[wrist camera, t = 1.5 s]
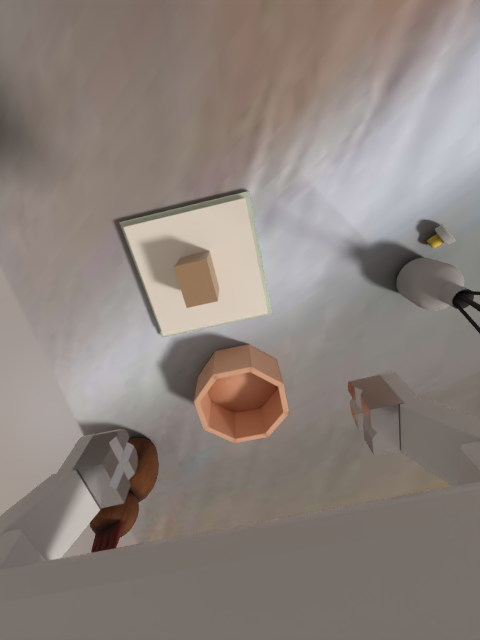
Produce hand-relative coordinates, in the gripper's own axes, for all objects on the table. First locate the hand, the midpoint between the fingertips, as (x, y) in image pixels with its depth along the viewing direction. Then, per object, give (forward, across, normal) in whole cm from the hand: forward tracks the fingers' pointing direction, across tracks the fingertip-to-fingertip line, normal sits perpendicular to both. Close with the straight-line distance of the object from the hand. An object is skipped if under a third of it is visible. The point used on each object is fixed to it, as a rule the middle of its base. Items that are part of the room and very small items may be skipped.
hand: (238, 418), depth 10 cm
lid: (+22, +3, -1) cm, 22 cm away
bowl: (+23, +2, +14) cm, 27 cm away
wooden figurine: (+24, +19, +21) cm, 37 cm away
